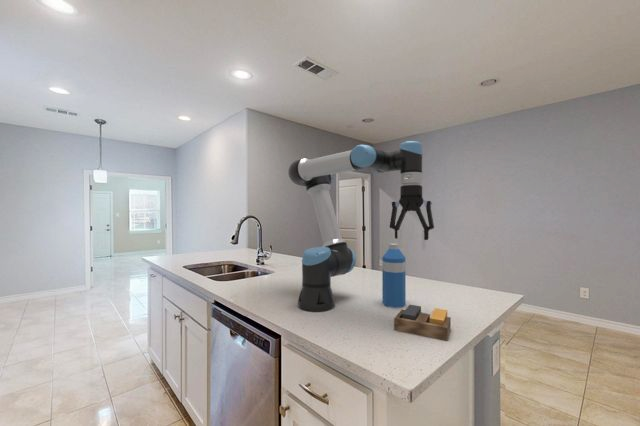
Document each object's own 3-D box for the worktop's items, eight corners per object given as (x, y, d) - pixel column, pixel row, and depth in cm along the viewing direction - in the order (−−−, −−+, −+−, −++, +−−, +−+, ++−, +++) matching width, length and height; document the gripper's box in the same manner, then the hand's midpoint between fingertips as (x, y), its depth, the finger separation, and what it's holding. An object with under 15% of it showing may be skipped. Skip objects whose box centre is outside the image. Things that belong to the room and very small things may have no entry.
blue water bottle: (406, 308, 114) (406, 245, 114) (382, 306, 116) (382, 245, 116) (404, 301, 123) (404, 243, 124) (382, 299, 125) (382, 242, 125)
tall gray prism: (402, 329, 94) (402, 313, 94) (409, 318, 104) (409, 304, 104) (414, 331, 92) (414, 315, 92) (421, 320, 102) (421, 306, 102)
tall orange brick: (429, 334, 90) (429, 318, 90) (434, 322, 100) (434, 308, 100) (443, 336, 88) (443, 320, 88) (447, 324, 98) (447, 310, 98)
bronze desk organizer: (394, 330, 93) (394, 318, 93) (401, 320, 101) (401, 309, 101) (447, 340, 85) (447, 328, 85) (450, 329, 94) (450, 317, 94)
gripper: (380, 185, 105) (380, 247, 105) (440, 182, 95) (440, 251, 95) (386, 187, 112) (386, 245, 112) (443, 184, 101) (443, 249, 101)
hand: (411, 248), depth 103 cm, fingers open, 8 cm apart
